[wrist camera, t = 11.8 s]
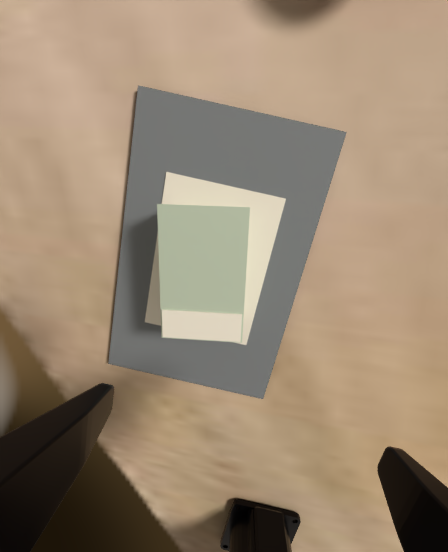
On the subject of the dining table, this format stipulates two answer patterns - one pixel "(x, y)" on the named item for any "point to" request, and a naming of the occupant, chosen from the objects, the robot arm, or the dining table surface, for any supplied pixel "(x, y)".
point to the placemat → (219, 192)
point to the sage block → (202, 271)
